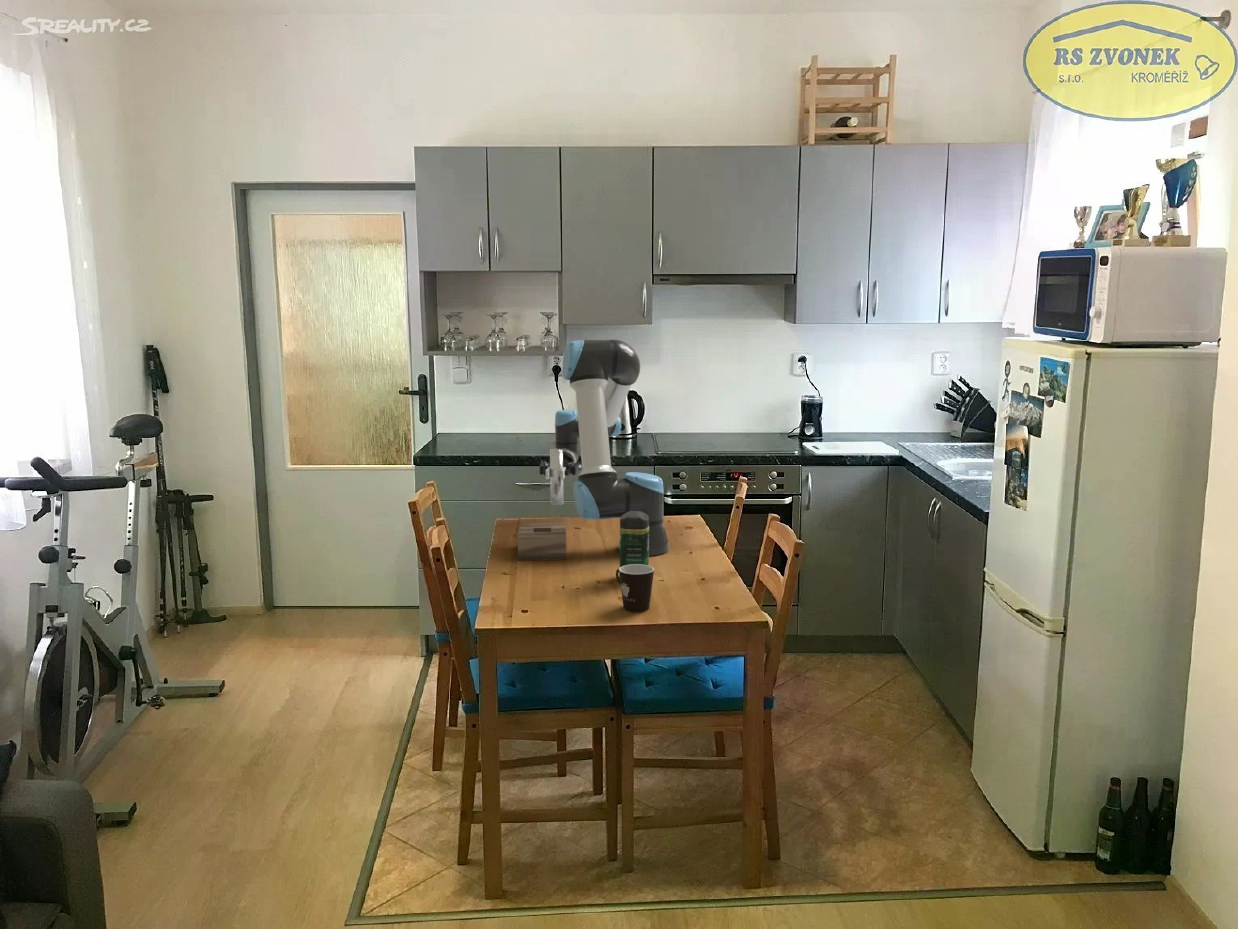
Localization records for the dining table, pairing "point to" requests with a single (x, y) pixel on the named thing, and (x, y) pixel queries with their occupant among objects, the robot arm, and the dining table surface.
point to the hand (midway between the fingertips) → (554, 475)
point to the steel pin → (556, 476)
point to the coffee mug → (635, 586)
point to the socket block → (542, 541)
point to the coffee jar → (634, 538)
